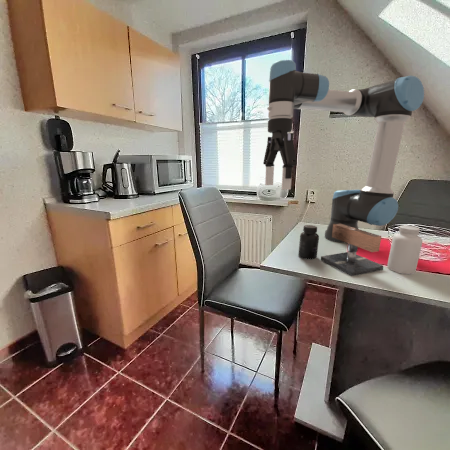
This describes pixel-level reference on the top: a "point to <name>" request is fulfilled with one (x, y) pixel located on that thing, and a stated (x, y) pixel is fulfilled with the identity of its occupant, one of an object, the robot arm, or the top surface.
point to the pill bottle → (405, 250)
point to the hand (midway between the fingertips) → (277, 187)
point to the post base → (351, 263)
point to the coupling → (356, 238)
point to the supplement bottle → (308, 242)
